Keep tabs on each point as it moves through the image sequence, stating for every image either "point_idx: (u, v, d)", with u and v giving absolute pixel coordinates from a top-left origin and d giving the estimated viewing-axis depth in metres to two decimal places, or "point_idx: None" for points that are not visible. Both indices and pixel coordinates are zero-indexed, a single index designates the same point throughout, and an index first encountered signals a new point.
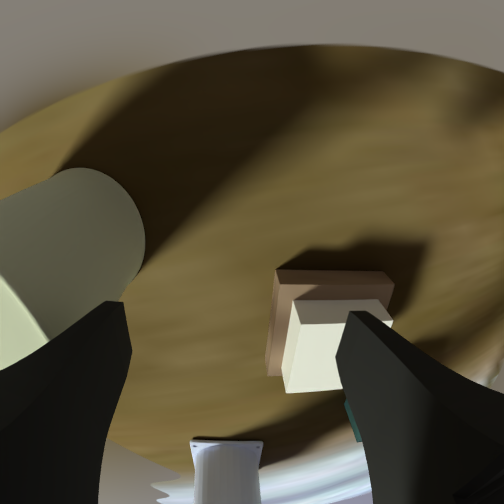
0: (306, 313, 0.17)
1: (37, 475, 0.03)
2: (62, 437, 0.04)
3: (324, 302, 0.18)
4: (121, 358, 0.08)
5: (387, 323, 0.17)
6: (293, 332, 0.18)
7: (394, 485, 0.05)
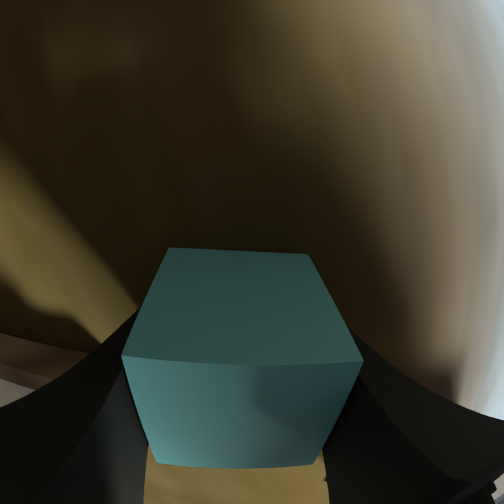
0: None
1: (99, 496, 0.03)
2: (117, 451, 0.04)
3: None
4: None
5: None
6: None
7: (347, 497, 0.05)
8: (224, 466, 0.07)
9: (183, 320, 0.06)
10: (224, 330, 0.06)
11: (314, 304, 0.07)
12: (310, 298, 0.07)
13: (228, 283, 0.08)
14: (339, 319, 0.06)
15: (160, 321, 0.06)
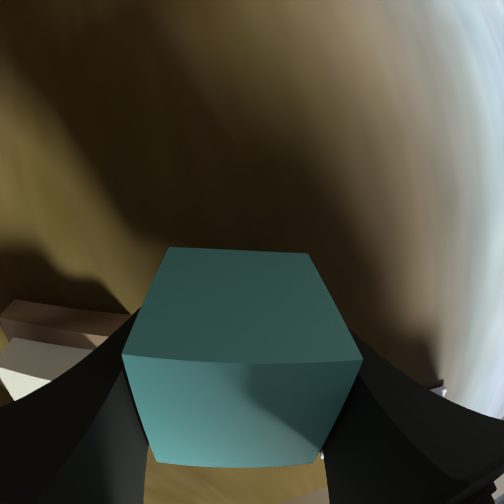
0: None
1: (99, 496, 0.03)
2: (117, 451, 0.04)
3: None
4: None
5: None
6: None
7: (346, 497, 0.05)
8: (224, 465, 0.07)
9: (183, 319, 0.06)
10: (224, 328, 0.06)
11: (314, 303, 0.07)
12: (310, 297, 0.07)
13: (227, 283, 0.08)
14: (339, 318, 0.06)
15: (160, 320, 0.06)
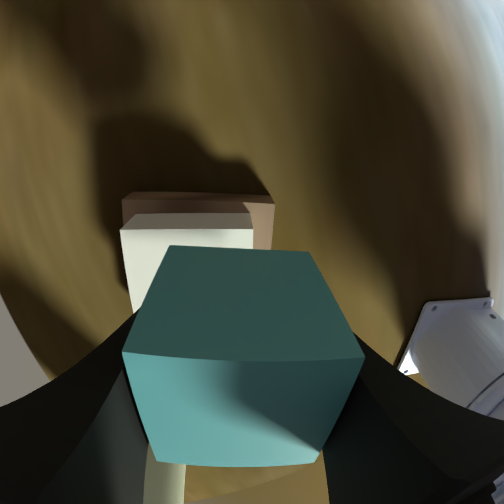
0: None
1: (99, 496, 0.03)
2: (117, 451, 0.04)
3: None
4: None
5: (124, 237, 0.13)
6: None
7: (346, 497, 0.05)
8: (225, 465, 0.07)
9: (183, 316, 0.06)
10: (225, 326, 0.06)
11: (315, 302, 0.07)
12: (311, 295, 0.07)
13: (228, 280, 0.08)
14: (341, 316, 0.06)
15: (160, 318, 0.06)
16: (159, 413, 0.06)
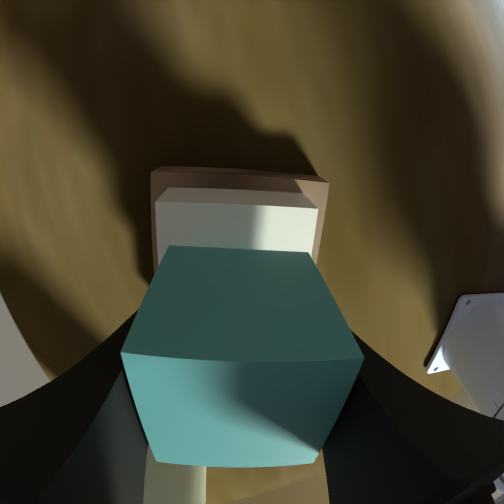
0: None
1: (99, 496, 0.03)
2: (117, 451, 0.04)
3: None
4: None
5: (160, 212, 0.11)
6: None
7: (346, 497, 0.05)
8: (224, 465, 0.07)
9: (182, 317, 0.06)
10: (223, 327, 0.06)
11: (314, 302, 0.07)
12: (310, 295, 0.07)
13: (228, 281, 0.08)
14: (339, 317, 0.06)
15: (159, 319, 0.06)
16: (158, 413, 0.06)
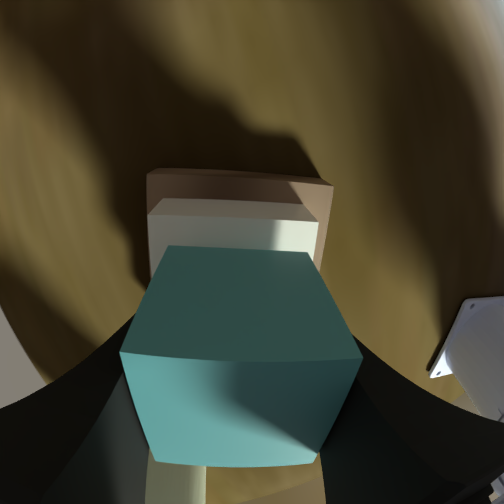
0: None
1: (102, 497, 0.03)
2: (120, 452, 0.04)
3: None
4: None
5: (153, 225, 0.10)
6: None
7: (343, 498, 0.05)
8: (223, 465, 0.07)
9: (181, 316, 0.06)
10: (222, 327, 0.06)
11: (313, 302, 0.07)
12: (309, 295, 0.07)
13: (226, 281, 0.08)
14: (339, 317, 0.06)
15: (158, 318, 0.06)
16: (157, 413, 0.06)
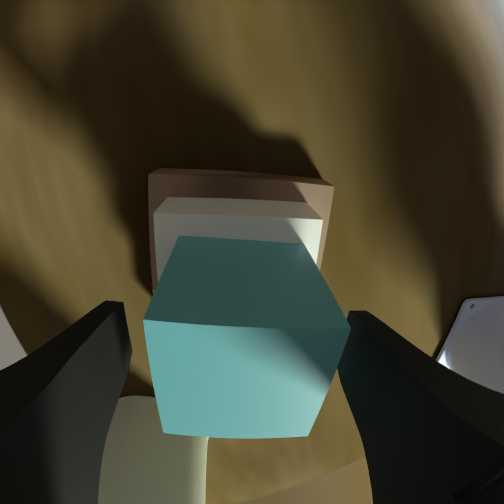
0: None
1: (37, 475, 0.03)
2: (62, 437, 0.04)
3: None
4: (121, 358, 0.08)
5: (159, 223, 0.10)
6: None
7: (394, 485, 0.05)
8: (226, 436, 0.08)
9: (195, 292, 0.07)
10: (231, 301, 0.07)
11: (308, 284, 0.08)
12: (305, 279, 0.08)
13: (233, 265, 0.09)
14: (330, 296, 0.08)
15: (175, 294, 0.07)
16: (171, 380, 0.07)
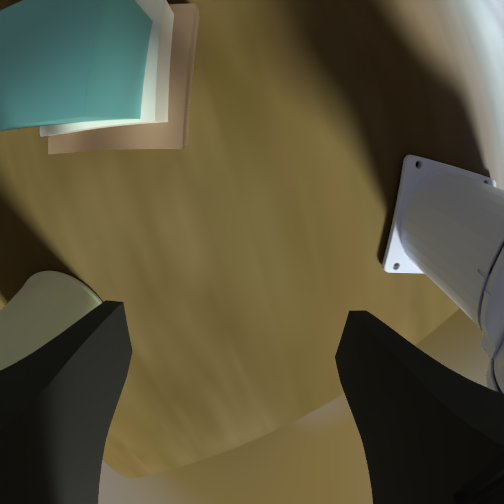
0: None
1: (37, 475, 0.03)
2: (62, 437, 0.04)
3: None
4: (121, 358, 0.08)
5: None
6: None
7: (394, 485, 0.05)
8: (16, 122, 0.06)
9: None
10: None
11: None
12: None
13: None
14: None
15: None
16: None
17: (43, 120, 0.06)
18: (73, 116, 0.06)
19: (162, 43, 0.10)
